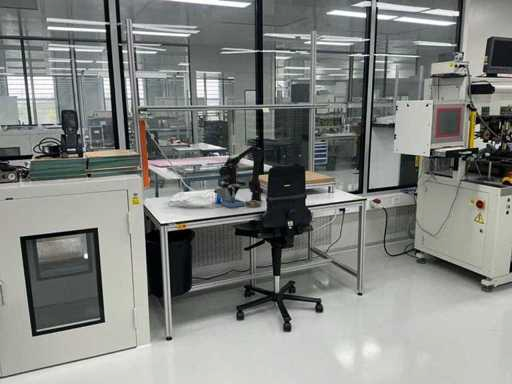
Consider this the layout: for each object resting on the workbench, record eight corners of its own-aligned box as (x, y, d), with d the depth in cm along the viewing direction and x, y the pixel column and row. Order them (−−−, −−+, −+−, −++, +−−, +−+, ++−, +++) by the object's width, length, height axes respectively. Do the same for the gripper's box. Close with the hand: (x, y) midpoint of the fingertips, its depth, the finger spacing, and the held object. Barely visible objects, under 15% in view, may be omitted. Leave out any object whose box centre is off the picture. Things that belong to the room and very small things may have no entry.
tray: (236, 202, 310) (236, 198, 310) (244, 205, 302) (244, 201, 301) (221, 205, 303) (221, 201, 302) (229, 208, 294) (229, 204, 294)
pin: (233, 202, 305) (233, 187, 302) (236, 203, 301) (236, 188, 299) (229, 202, 302) (229, 188, 300) (232, 203, 299) (232, 188, 297)
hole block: (254, 204, 307) (254, 200, 307) (260, 206, 301) (260, 202, 300) (245, 205, 303) (245, 201, 302) (251, 207, 296) (251, 203, 296)
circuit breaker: (213, 201, 315) (213, 181, 312) (232, 200, 319) (231, 180, 315) (214, 203, 308) (214, 183, 305) (234, 202, 311) (233, 182, 308)
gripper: (237, 171, 309) (237, 192, 313) (215, 174, 299) (215, 195, 302) (246, 173, 300) (246, 195, 304) (223, 176, 290) (224, 198, 293)
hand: (232, 196), depth 301 cm, fingers closed on pin, 3 cm apart
